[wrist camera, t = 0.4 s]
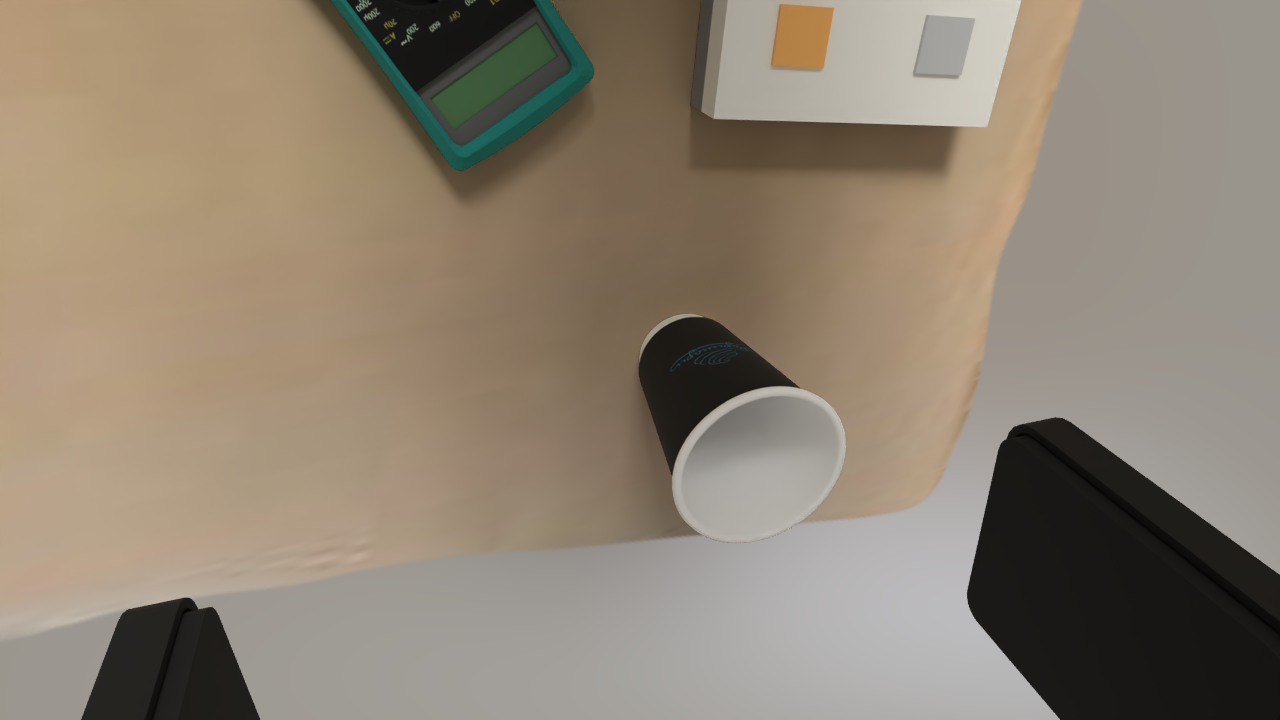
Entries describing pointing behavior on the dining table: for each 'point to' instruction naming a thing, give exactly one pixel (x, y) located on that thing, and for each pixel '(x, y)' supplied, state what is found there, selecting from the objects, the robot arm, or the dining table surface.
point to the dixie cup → (736, 432)
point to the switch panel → (852, 60)
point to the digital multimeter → (472, 66)
